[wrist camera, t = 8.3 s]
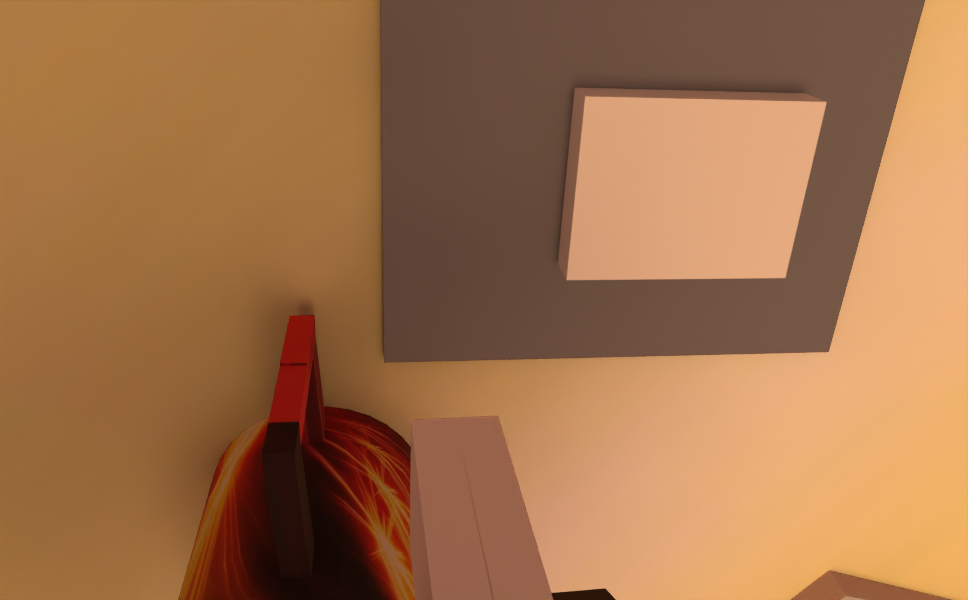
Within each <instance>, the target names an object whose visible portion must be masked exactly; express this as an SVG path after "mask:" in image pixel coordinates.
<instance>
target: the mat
mask: <svg viewBox="0 0 968 600" xmlns="http://www.w3.org/2000/svg"><path fill="white" fill-rule="evenodd" d="M380 1H381V105H382V208H383V312H384V363H385V362H427V361H469V360H511V359H553V358H595V357H637V356H679V355H721V354H764V353H806V352H829V349H830V345H831V341H832V338H833V334H834V330H835V327H836V323H837V319H838V316H839V312H840V309H841V305H842V301H843V298H844V294H845V290H846V287H847V283H848V279H849V276H850V272H851V268H852V265H853V261H854V258H855V254H856V250H857V247H858V243H859V239H860V236H861V232H862V228H863V225H864V221H865V217H866V214H867V210H868V206H869V203H870V199H871V196H872V192H873V188H874V185H875V181H876V177H877V174H878V170H879V166H880V163H881V159H882V155H883V152H884V148H885V145H886V141H887V137H888V134H889V130H890V126H891V123H892V119H893V115H894V112H895V108H896V104H897V101H898V97H899V94H900V90H901V86H902V83H903V79H904V75H905V72H906V68H907V64H908V61H909V57H910V53H911V50H912V46H913V42H914V39H915V35H916V32H917V28H918V24H919V21H920V17H921V13H922V10H923V6H924V2H925V0H380ZM574 88H614V89H654V90H695V91H736V92H777V93H806V94H808V95H811V96H813V97H816V98H818V99H821V100H823V101H826V102H827V103H826V107H825V112H824V116H823V120H822V124H821V129H820V133H819V137H818V141H817V146H816V150H815V154H814V158H813V163H812V167H811V171H810V175H809V180H808V184H807V188H806V192H805V197H804V201H803V205H802V209H801V214H800V218H799V222H798V226H797V231H796V235H795V239H794V243H793V247H792V252H791V256H790V260H789V264H788V269H787V273H786V277H785V278H743V279H642V280H566V278H565V277H564V275H563V273H562V271H561V269H560V267H559V265H558V255H559V245H560V234H561V224H562V214H563V203H564V193H565V182H566V172H567V161H568V151H569V141H570V130H571V120H572V109H573V99H574Z"/></svg>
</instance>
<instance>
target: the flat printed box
mask: <svg viewBox="0 0 968 600" xmlns="http://www.w3.org/2000/svg"><path fill="white" fill-rule="evenodd" d="M791 600H949V599H945V598H942V597H939V596H934V595H929V594H924V593H920V592H917V591H913V590H909V589H904V588H900V587H895V586H890V585H888V584H884V583H879V582H874V581H871V580H866V579H862V578H858V577H854V576H849V575H846V574H841V573H837V572H833V571H828V572H827V573H825V574H823V575H822V576H821V577H820V578H818V579H817V580H816V581H815V582H813V583H812V584H811V585H809V586H808V587H807V588H806V589H804V590H803V591H801V592H800V593H799V594H798V595H796V596H795V597H794V598H792V599H791Z"/></svg>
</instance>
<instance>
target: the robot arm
mask: <svg viewBox="0 0 968 600" xmlns="http://www.w3.org/2000/svg"><path fill="white" fill-rule="evenodd" d="M410 551H411V561H412V572H413V583H414V593H415V600H616V599H615V598H614V597H613V596H612V595H611V594H610V593H609V592H608V591H607V590H606V589H595V590H583V591H571V592H559V593H551V590H550V587H549V584H548V580H547V577H546V574H545V570H544V567H543V564H542V560H541V557H540V554H539V550H538V547H537V544H536V540H535V537H534V534H533V530H532V527H531V524H530V520H529V517H528V514H527V511H526V507H525V504H524V501H523V497H522V494H521V491H520V487H519V484H518V481H517V477H516V474H515V471H514V467H513V464H512V461H511V457H510V454H509V451H508V447H507V444H506V441H505V437H504V434H503V431H502V427H501V424H500V421H499V417H498V416H483V417H461V418H440V419H418V420H411V473H410Z"/></svg>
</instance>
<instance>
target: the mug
mask: <svg viewBox="0 0 968 600" xmlns="http://www.w3.org/2000/svg"><path fill="white" fill-rule="evenodd" d="M410 473H411V447H410V446H409V445H408V443H407V442H406V441H405V440H404V439H403V437H402V436H400V435H399V434H398V433H396V432H395V431H394V430H393V429H391V428H390V427H389V426H388V425H386V424H384V423H382V422H380V421H378V420H376V419H374V418H372V417H370V416H368V415H365V414H362V413H359V412H355V411H352V410H349V409H341V408H334V407H324V405H323V396H322V388H321V380H320V371H319V363H318V355H317V346H316V336H315V317H314V315H307V316H290V317H289V322H288V327H287V332H286V336H285V341H284V346H283V351H282V356H281V360H280V369H279V373H278V378H277V383H276V388H275V393H274V398H273V402H272V407H271V412H270V417H268V418H265V419H263V420H261V421H259V422H258V423H256V424H254V425H253V426H251V427H249V428H248V429H246V430H245V431H244V432H243V433H242V434H240V435H239V436H238V437H237V438H236V439H235V440H234V441H233V442H232V443H231V444H230V445H229V447H228V448H227V450H226V451H225V452H224V454H223V455H222V457H221V458H220V461H219V463H218V466H217V468H216V471H215V473H214V476H213V480H212V483H211V487H210V490H209V494H208V497H207V501H206V504H205V508H204V511H203V515H202V518H201V522H200V525H199V529H198V532H197V536H196V539H195V543H194V546H193V550H192V553H191V557H190V560H189V564H188V567H187V571H186V574H185V578H184V581H183V585H182V588H181V592H180V595H179V599H178V600H415V593H414V583H413V572H412V561H411V551H410Z"/></svg>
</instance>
